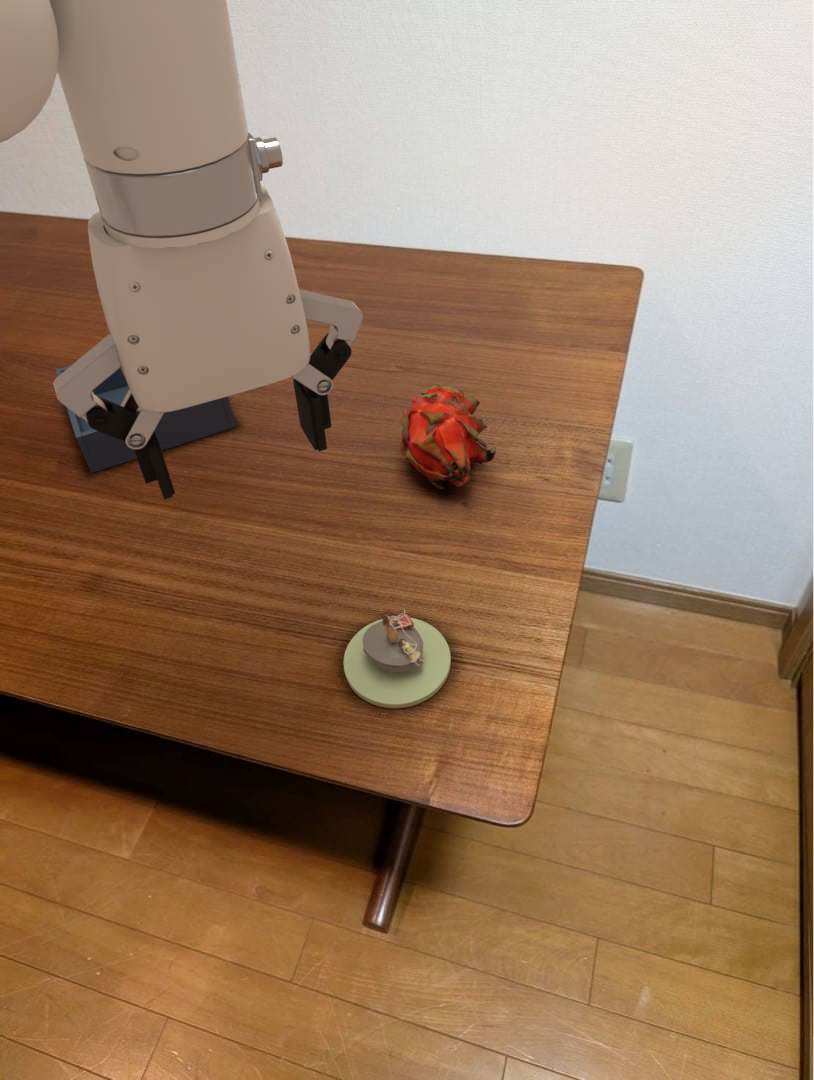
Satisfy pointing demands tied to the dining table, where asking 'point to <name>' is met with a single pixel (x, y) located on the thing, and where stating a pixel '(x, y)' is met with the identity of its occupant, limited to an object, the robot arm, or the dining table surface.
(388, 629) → the figurine
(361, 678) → the mat
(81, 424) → the basket
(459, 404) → the dragon fruit
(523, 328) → the dining table surface
